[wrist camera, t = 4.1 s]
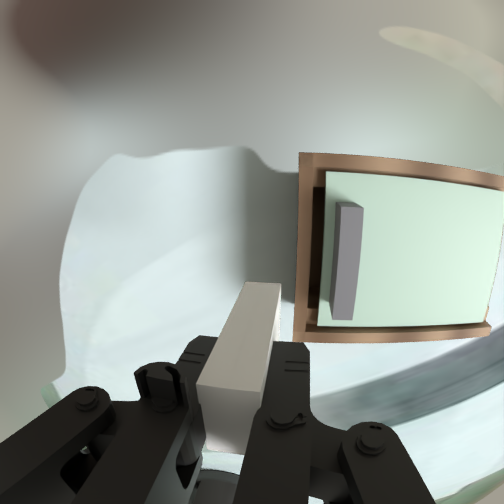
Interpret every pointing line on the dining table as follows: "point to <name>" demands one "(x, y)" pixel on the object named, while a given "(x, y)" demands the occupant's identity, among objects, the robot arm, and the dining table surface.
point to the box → (312, 246)
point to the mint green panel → (407, 251)
